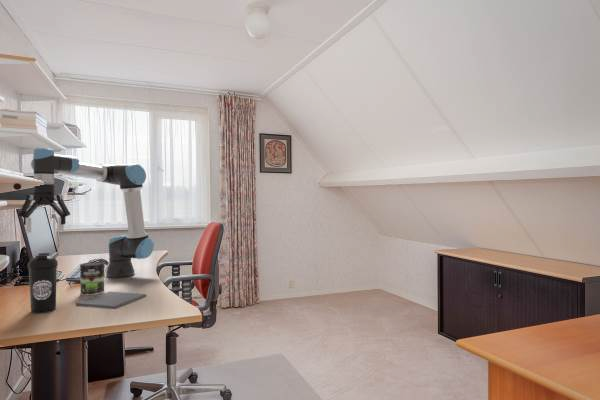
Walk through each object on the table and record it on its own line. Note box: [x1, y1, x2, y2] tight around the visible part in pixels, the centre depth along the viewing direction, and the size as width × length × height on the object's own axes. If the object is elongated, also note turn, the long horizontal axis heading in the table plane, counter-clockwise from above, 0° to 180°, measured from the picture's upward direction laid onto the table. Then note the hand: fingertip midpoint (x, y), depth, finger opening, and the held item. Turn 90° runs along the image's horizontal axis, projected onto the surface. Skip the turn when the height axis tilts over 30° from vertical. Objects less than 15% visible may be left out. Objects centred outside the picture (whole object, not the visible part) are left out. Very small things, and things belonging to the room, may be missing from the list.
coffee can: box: [79, 261, 105, 297], centre depth 186 cm, size 10×10×14 cm
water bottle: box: [27, 252, 59, 314], centre depth 158 cm, size 10×10×23 cm
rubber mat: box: [75, 291, 147, 309], centre depth 172 cm, size 20×20×1 cm
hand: (44, 232), depth 170 cm, fingers open, 13 cm apart
